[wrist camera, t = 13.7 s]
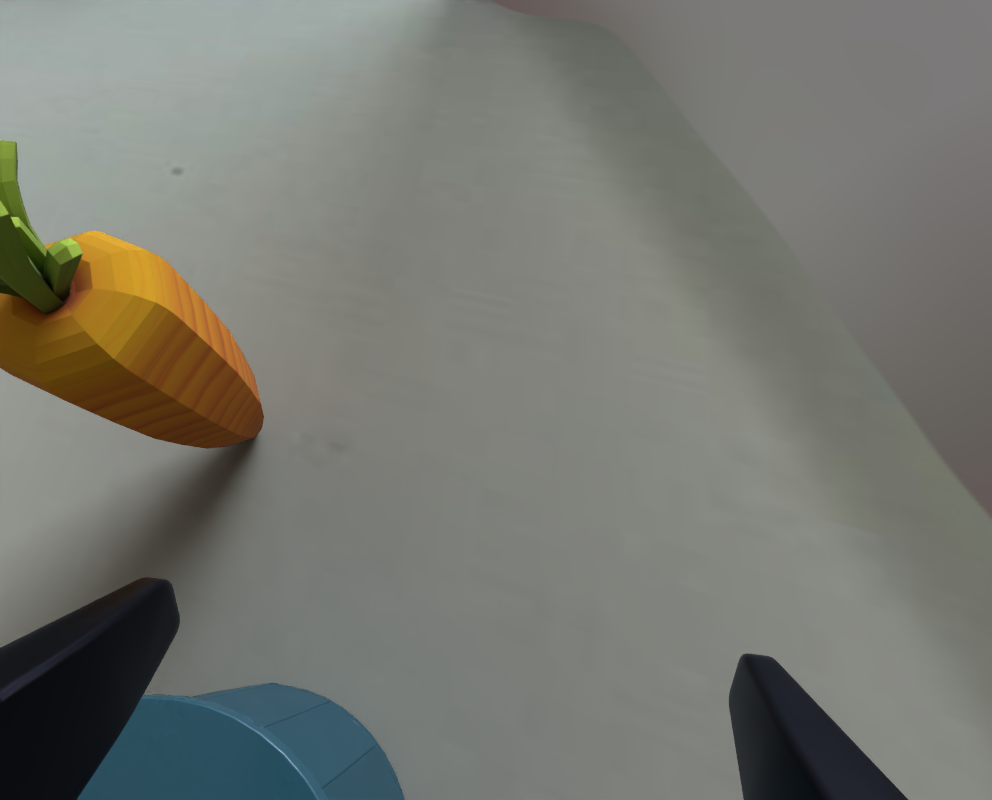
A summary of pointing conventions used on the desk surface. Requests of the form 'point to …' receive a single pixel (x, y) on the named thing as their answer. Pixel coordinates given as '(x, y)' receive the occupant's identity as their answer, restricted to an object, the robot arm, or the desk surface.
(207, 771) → the pot lid
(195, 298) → the carrot
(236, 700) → the pot
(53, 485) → the desk surface
